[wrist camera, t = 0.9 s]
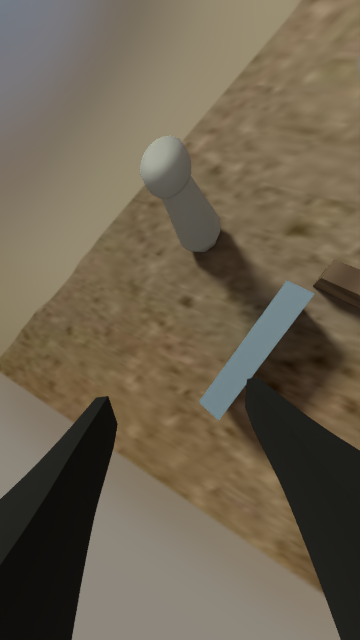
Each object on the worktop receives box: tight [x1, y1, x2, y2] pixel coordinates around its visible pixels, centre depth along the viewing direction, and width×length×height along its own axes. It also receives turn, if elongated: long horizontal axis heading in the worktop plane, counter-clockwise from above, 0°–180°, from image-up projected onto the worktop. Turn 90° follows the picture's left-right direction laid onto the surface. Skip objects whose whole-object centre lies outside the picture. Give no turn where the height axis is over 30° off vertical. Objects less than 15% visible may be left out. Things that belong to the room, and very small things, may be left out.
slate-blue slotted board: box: [199, 281, 314, 420], centre depth 20 cm, size 2×14×6 cm, turn 143°
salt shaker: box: [140, 136, 221, 253], centre depth 20 cm, size 6×6×13 cm
